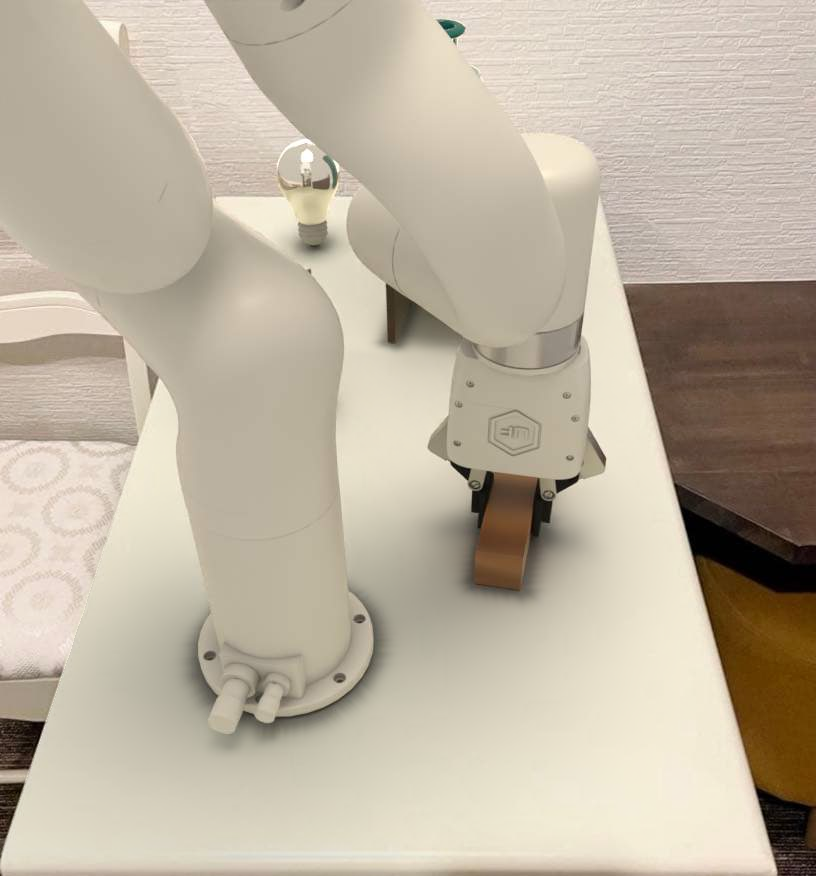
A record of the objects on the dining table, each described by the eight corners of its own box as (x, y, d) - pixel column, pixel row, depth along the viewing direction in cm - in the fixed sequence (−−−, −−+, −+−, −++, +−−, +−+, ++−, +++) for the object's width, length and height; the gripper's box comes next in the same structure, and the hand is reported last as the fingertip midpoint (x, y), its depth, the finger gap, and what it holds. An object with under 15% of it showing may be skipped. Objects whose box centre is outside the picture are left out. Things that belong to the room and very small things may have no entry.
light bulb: (349, 255, 113) (342, 151, 104) (288, 263, 112) (277, 158, 103) (339, 227, 117) (332, 125, 109) (280, 234, 116) (269, 132, 108)
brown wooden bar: (520, 590, 76) (523, 557, 73) (473, 583, 76) (475, 550, 74) (542, 473, 85) (546, 440, 83) (501, 468, 86) (503, 435, 83)
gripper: (395, 343, 66) (400, 538, 79) (647, 372, 64) (610, 569, 76) (419, 286, 71) (420, 478, 84) (652, 310, 69) (616, 504, 82)
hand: (510, 519), depth 80 cm, fingers closed on brown wooden bar, 3 cm apart
